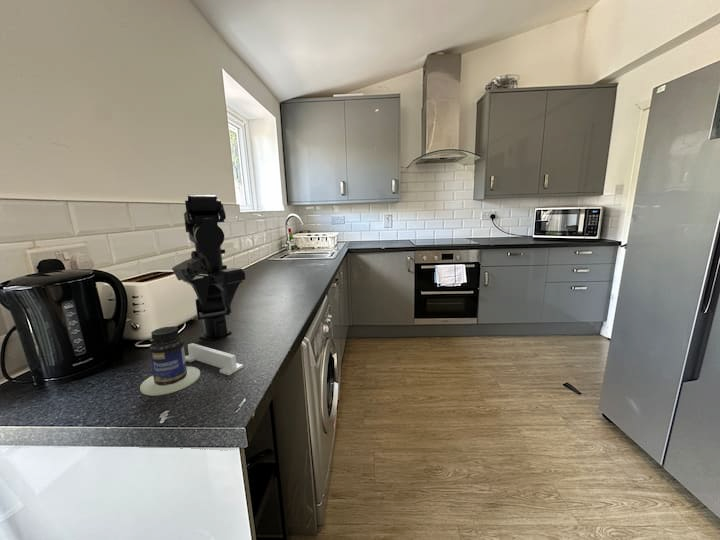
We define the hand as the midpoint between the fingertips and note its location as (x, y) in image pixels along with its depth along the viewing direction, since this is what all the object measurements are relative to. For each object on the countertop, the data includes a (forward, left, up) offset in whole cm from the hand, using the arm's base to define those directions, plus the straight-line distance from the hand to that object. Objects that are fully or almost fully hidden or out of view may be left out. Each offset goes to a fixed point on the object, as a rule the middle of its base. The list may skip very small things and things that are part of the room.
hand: (215, 306), depth 77 cm
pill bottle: (+4, -15, -12) cm, 19 cm away
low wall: (+5, -6, -12) cm, 14 cm away
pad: (+4, -15, -12) cm, 20 cm away
